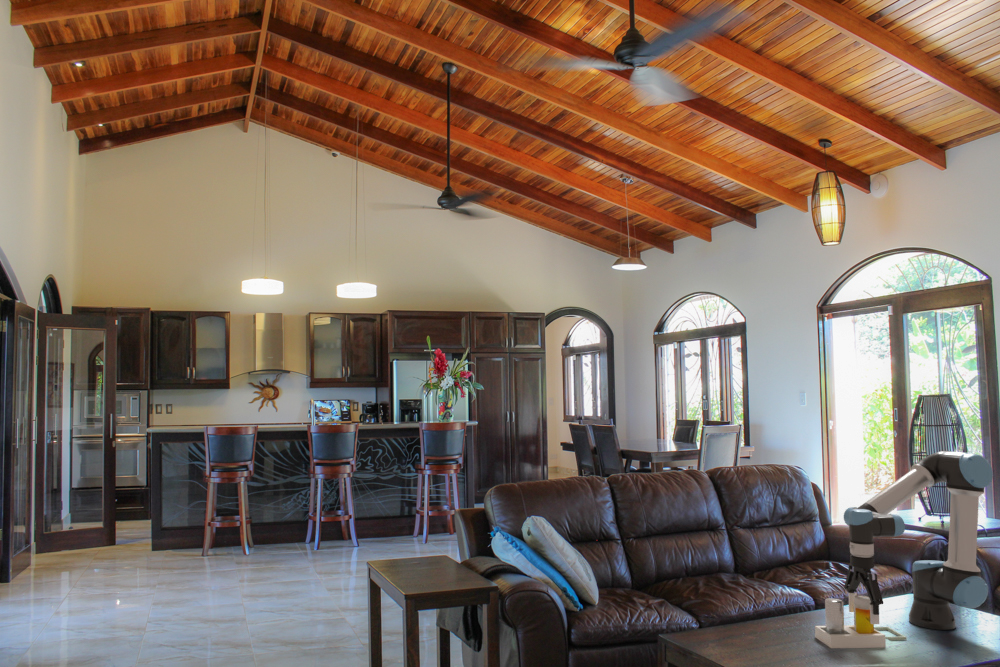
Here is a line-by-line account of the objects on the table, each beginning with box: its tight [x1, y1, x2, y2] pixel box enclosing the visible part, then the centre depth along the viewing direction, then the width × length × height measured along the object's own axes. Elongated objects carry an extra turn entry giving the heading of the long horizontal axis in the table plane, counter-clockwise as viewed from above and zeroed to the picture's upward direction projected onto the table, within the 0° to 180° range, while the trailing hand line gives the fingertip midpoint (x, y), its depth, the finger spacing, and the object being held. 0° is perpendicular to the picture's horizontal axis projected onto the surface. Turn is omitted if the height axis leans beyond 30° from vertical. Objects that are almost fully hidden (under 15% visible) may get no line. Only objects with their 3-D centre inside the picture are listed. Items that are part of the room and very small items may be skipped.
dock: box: [814, 624, 887, 649], centre depth 259 cm, size 19×11×4 cm, turn 94°
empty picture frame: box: [874, 626, 908, 641], centre depth 268 cm, size 11×11×1 cm
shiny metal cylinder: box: [824, 597, 845, 635], centre depth 259 cm, size 6×6×14 cm
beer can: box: [853, 594, 875, 634], centre depth 259 cm, size 6×6×15 cm
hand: (863, 617), depth 259 cm, fingers open, 13 cm apart
